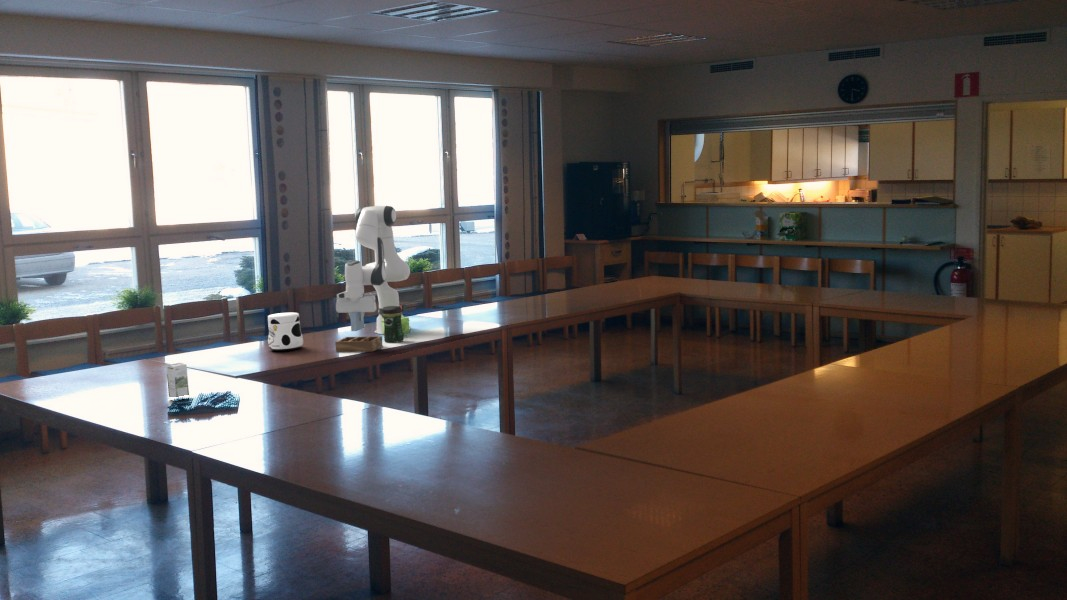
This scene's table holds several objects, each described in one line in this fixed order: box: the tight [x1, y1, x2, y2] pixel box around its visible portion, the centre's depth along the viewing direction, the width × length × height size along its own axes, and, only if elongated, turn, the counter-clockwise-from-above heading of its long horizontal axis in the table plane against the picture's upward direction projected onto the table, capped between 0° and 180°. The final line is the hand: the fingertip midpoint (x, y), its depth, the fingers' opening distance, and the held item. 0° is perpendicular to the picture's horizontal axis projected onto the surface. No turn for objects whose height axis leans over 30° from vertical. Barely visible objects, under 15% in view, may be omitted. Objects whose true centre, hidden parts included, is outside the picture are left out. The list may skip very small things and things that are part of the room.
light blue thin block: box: [349, 312, 365, 332], centre depth 472 cm, size 10×3×9 cm, turn 168°
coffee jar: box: [382, 305, 405, 343], centre depth 490 cm, size 10×8×19 cm
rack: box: [334, 335, 383, 353], centre depth 474 cm, size 14×19×5 cm
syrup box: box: [165, 362, 190, 398], centre depth 379 cm, size 6×6×14 cm
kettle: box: [382, 316, 411, 337], centre depth 507 cm, size 15×14×11 cm
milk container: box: [267, 312, 304, 352], centre depth 482 cm, size 17×17×18 cm
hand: (357, 321), depth 472 cm, fingers closed on light blue thin block, 3 cm apart
